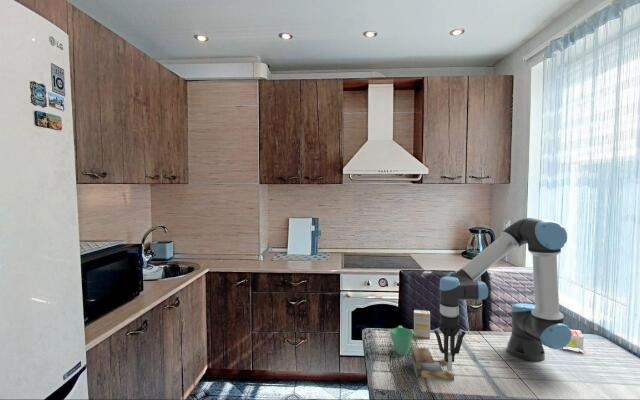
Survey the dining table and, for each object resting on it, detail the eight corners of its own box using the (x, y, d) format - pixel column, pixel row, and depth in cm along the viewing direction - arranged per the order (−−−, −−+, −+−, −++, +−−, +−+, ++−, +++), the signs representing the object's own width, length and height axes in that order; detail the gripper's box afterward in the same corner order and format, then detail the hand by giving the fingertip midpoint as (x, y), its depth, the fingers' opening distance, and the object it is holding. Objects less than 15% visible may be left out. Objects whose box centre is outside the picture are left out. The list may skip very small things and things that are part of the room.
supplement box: (430, 335, 175) (430, 310, 175) (430, 339, 171) (430, 314, 170) (414, 333, 178) (414, 309, 178) (413, 336, 173) (413, 312, 173)
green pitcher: (414, 358, 151) (414, 336, 151) (392, 357, 152) (392, 335, 152) (409, 343, 166) (409, 324, 165) (389, 342, 167) (389, 323, 166)
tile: (438, 368, 143) (438, 362, 143) (443, 378, 136) (443, 370, 136) (417, 367, 144) (417, 360, 144) (420, 376, 137) (420, 369, 137)
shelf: (446, 363, 146) (446, 347, 146) (455, 380, 133) (455, 363, 133) (411, 362, 148) (412, 346, 147) (417, 378, 135) (417, 361, 134)
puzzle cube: (562, 349, 159) (562, 333, 159) (560, 343, 166) (560, 327, 166) (583, 353, 155) (583, 336, 155) (580, 346, 162) (580, 330, 162)
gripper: (462, 311, 142) (462, 365, 143) (431, 310, 143) (431, 363, 144) (468, 318, 135) (468, 374, 135) (435, 316, 136) (435, 373, 137)
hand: (449, 369), depth 140 cm, fingers closed
